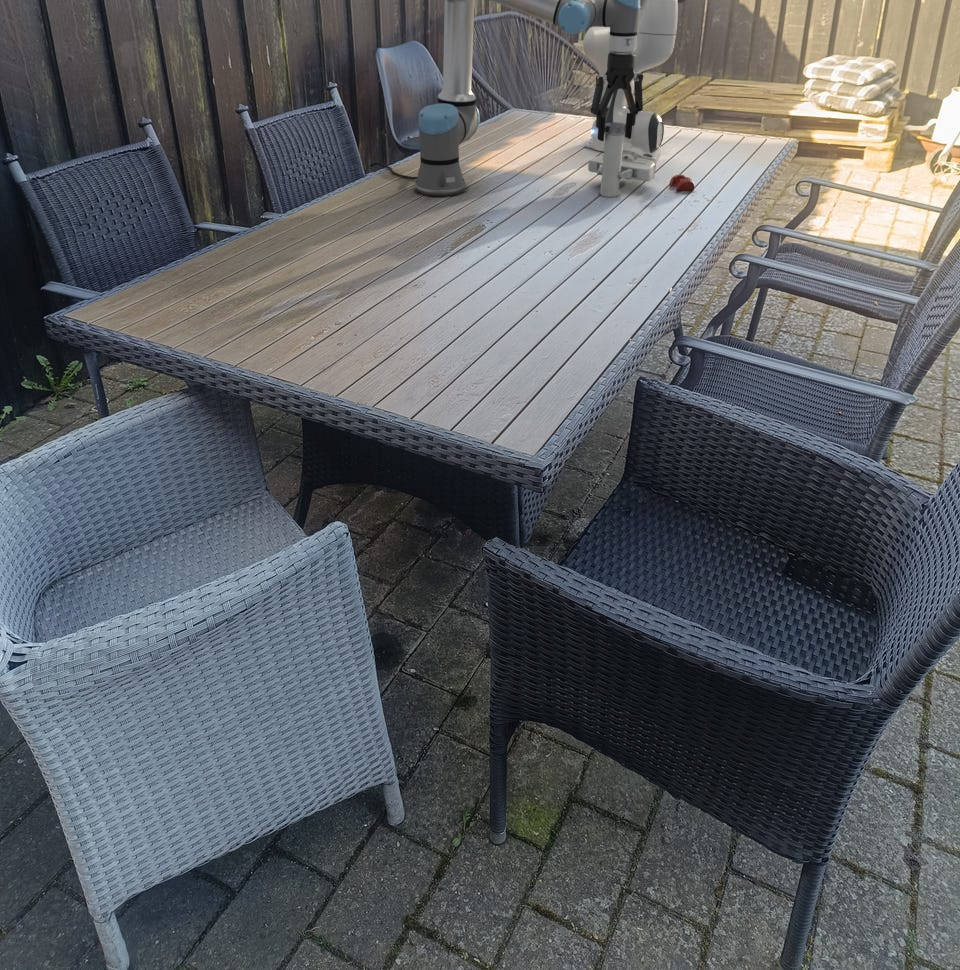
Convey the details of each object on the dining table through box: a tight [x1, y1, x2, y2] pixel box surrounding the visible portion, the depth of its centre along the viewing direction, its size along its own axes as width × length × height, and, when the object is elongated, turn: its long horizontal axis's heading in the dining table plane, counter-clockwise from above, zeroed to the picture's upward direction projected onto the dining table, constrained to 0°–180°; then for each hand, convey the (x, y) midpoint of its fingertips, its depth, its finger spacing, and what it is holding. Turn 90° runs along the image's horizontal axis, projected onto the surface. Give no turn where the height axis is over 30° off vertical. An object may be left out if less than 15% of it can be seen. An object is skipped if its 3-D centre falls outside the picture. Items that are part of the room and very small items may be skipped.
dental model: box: [668, 174, 695, 193], centre depth 257 cm, size 6×4×8 cm
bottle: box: [599, 132, 624, 198], centre depth 249 cm, size 6×6×19 cm
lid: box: [605, 122, 626, 134], centre depth 244 cm, size 6×6×2 cm
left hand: (614, 138), depth 246 cm, fingers open, 8 cm apart
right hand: (609, 174), depth 251 cm, fingers closed on bottle, 5 cm apart
